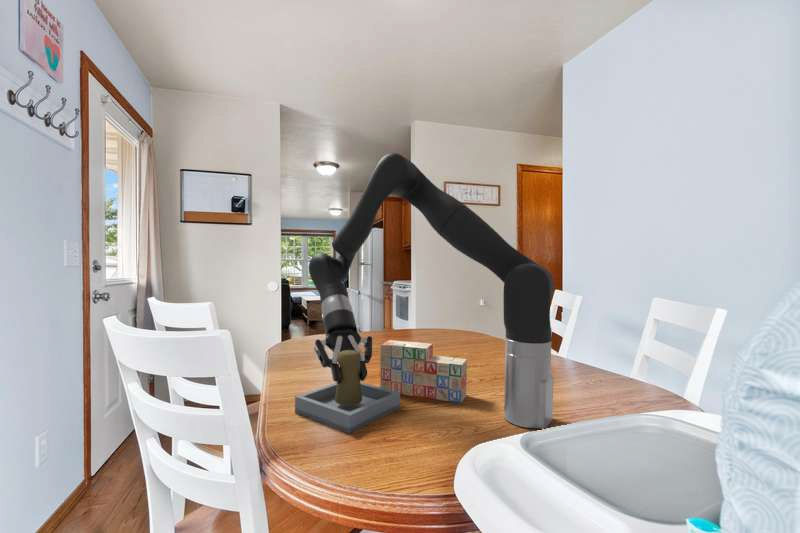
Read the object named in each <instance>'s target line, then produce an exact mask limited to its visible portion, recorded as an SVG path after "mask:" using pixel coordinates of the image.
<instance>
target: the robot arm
mask: <svg viewBox="0 0 800 533" xmlns="http://www.w3.org/2000/svg"><path fill="white" fill-rule="evenodd" d="M391 194H393V195H396V196H398V197H400V198H402V199H403V200H405V201H406V202H407V203H409V204H411V205H412V206H413V207H415V209H417V210H418V211H419V212H420V213H421V214H422V215H423V216H424V218H425V219H426V221H427V222H428V223H429V225H430V226H431V227H432V229H433V230H434V231H435V232H436V233H437V235H439V236H440V237H442V239H444V240H445V242H447V243H448V244H449V245H451V246H452V247H453V248H454V249H455V250H457V251H458V252H460V253H462V254H463V255H464V256H466V257H468V258H470V259H471V260H473V261H475V262H477V263H479V264H480V265H482V266H484V267H485V268H486V269H488V270H490V272H492V273H493V274H494V275H495V276H496V277H497V278H499V279H500V280H501V282H503V324H504V329H505V349H504V350H505V353H504V354H505V355H504V356H505V359H504V404H503V410H504V411H503V413H504V414H503V416H504V419H505V420H506V421H507V422H509V423H511V424H512V425H515V426H517V427H521V428H528V429H541V430H543V429H542V428H545V429H547V427H548V426H549V425H550V424H551V422H552V421H553V420H554V419H553V415H554V413H553V410H554V376H553V375H552V373H551V372H552V370H551V369H552V332H553V330H552V327H551V297H552V296H553V294H554V290H555V280H554V278H553V275H552V274H551V273H550V271H549V270H548V269H547V268H546V267H544V266H542V265H541V264H539V263H538V262H535V261H534V260H532V259H531V258H529V257H528V256H526V255H525V254H523V253H522V252H520V251H518V250H517V249H516V248H514V247H513V246H512V245H511V244H510V243H508V242H507V241H506V240H505V239H504V237H502V236H501V235H500V234H499V233H498V232H497V231H496V230H495V229H494V228H493V227H492V226H490V224H489V223H487V222H486V221H485V220H484V219H483V218H481V216H479V215H478V214H477V213H476V212H474V211H473V210H472V209H470V208H469V207H468V206H467V205H466V204H465V203H463V202H462V201H460V200H459V199H457V198H455V197H454V196H452V195H450V194H449V193H447V192H445V191H443V190H442V189H441V188H439V187H438V186H436V185H435V183H433V182H432V181H431V180H430V179H429V178H428V177H427V176H426V174H424V173H423V172H422V171H421V170H420V169H419V168H418V167H417V166H416V164H415V163H413V162H412V161H411V160H409V158H406V157H404V156H403V155H402V154H400V153H396V152H390V153H388V154H385V155H384V156H383V157H382V158H381V159H380V160H379V161H378V163H377V165H376V166H375V167H374V170H373V171H372V173H371V175H370V178H369V180H368V181H367V184H366V186H365V188H364V190H363V192H362V194H361V195H360V198H359V200H358V202H357V203H356V205H355V207H354V209H353V210H352V212H351V214H350V215H349V217H348V218H347V220H346V221H345V223H344V224H343V226H342V227H341V228H340V229H339V231H338V233H337V234H336V236H335V237H334V238H333V240H332V242H331V246H332V248H333V250H334V251H335V252H336V253H337V254H339V256H338V258H337V257H334V256H332V255H329V254H327V253H323V252H318V253H315V254H314V255H313V256H312V257H311V258H310V260H309V264H308V272H309V273H308V274H309V276H310V279H311V281H312V283H313V285H314V287H315V289H316V290H317V292H318V294H319V299H320V305H321V318H322V319H321V320H322V322H323V326H324V334H325V339H323V340H320V339H316V340H315V342H314V346H313V348H314V351H315V353H316V356H317V358H318V360H319V362H320V365H321V367H323V368H327V367H328V368H330V369H331V375H332V380H333V382H335V383H337V384H339V383H340V382H341V379H342V378H341V372H340V365H339V364H338V359H337V357H338V354H339V353H340V352H341V351H344V350H356V351H358V352H359V353H360V355H361V362H360V364H359V365H358V367H359V375H360V382H364V381H365V379H366V378H367V376H368V369H367V365H366V364H369V363H370V361H371V359H372V357H373V337H372V336H370V335H369V336H367V337H363V336H361V334H359V332H358V327H357V323H356V320H355V318H356V317H355V315H354V310H353V306H352V303H351V302H350V298H349V294H348V290H347V287H346V285H345V283H344V280H346V278H347V276H348V274H349V272H350V268H351V266H352V263H353V262H354V259H355V256H356V254H357V253H358V251H359V250H360V249H361V248H362V246H363V245H364V244H365V242H366V241H367V239H368V238H369V236H370V234H371V231H372V229H373V226H374V222H375V220H376V217H377V214H378V211H379V210H380V208H381V206H382V204H383V203H384V202H385V201H386V200H387V198H388V197H389V196H390V195H391ZM360 344H361V346H362V348H364V354H363V353H362V349H361V348H360V346H359V345H360ZM326 347H327V348H328V349H329V350H330V351H332V356H331V358H330V357H329V356H328V354H327V351H326Z"/></svg>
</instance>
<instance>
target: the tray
mask: <svg viewBox="0 0 800 533" xmlns="http://www.w3.org/2000/svg"><path fill="white" fill-rule="evenodd" d="M360 384H361V393H362V401H361V402H360V403H357V404H353V405H342V404H338V403H336V402H335V396H336V389H337V383H336V382H335V383H331V384H329V385H325V386H322V387H320V388H317V389H314V390H310V391H308V392H305V393H302V394H299V395H298V394H297V395H296V396H294V413H295V414H297V415H300V416H302V417H305V418H308V419H311V420H313V421H316V422H319V423H321V424H323V425H325V426H328V427H331V428H334V429H336V430H339V431H342V432H345V433H347V434H350V435H351V433H354V432H355V431H358V430H359V429H362V428H363V427H366V426H368V425H370V424H371V423H373V422H376V421H377V420H379V419H382V418H384V417H385V416H388V415H389V414H391V413H394V412H396V411H397V410H400V409H401V394H400V393H399V392H395V391H391V390H388V389H384V388H380V386H376V385H372V384H368V383H365V382H363V381H360Z"/></svg>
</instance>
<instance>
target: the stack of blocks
mask: <svg viewBox="0 0 800 533" xmlns="http://www.w3.org/2000/svg"><path fill="white" fill-rule="evenodd" d="M433 349H434V348H433V343H426V342H417V341H405V340H404V341H402V340H393V339H392V340H391V339H389V340H387V341H385V342H382V343H381V344H380V356H379V357H380V365H379V366H380V380H379V381H380V383H379V384H380V386H379V387H380V388H384V389H388V390H391V391H395V392H399V393H400V395H403V396H410V397H419V398H426V399H432V400H439V401H443V402H444V401H445V402H449V403H458V404H461V403H462V402H463V401H464V399H466V396H467V379H468V377H467V376H468V375H467V371H468V358H467V359H466V358H458V357H453V356H452V357H451V356H443V355H442V356H441V355H434V354H433V353H434V352H433Z"/></svg>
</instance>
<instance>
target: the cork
mask: <svg viewBox="0 0 800 533" xmlns="http://www.w3.org/2000/svg"><path fill="white" fill-rule="evenodd" d="M337 359H338V362H337V364H339V367H340V372H341V378H342V379H341V382H340V383H339V384H337V389H336V396H335V402H336V403H338V404H342V405H353V404H357V403H360V402H361V401H362V393H361V384H360V382H361V381H360V375H359V367H358V365H359V364H360V362H361V355H360V353H359V352H358V351H356V350H344V351H341V352H340V353H339V354H338V357H337Z"/></svg>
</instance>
